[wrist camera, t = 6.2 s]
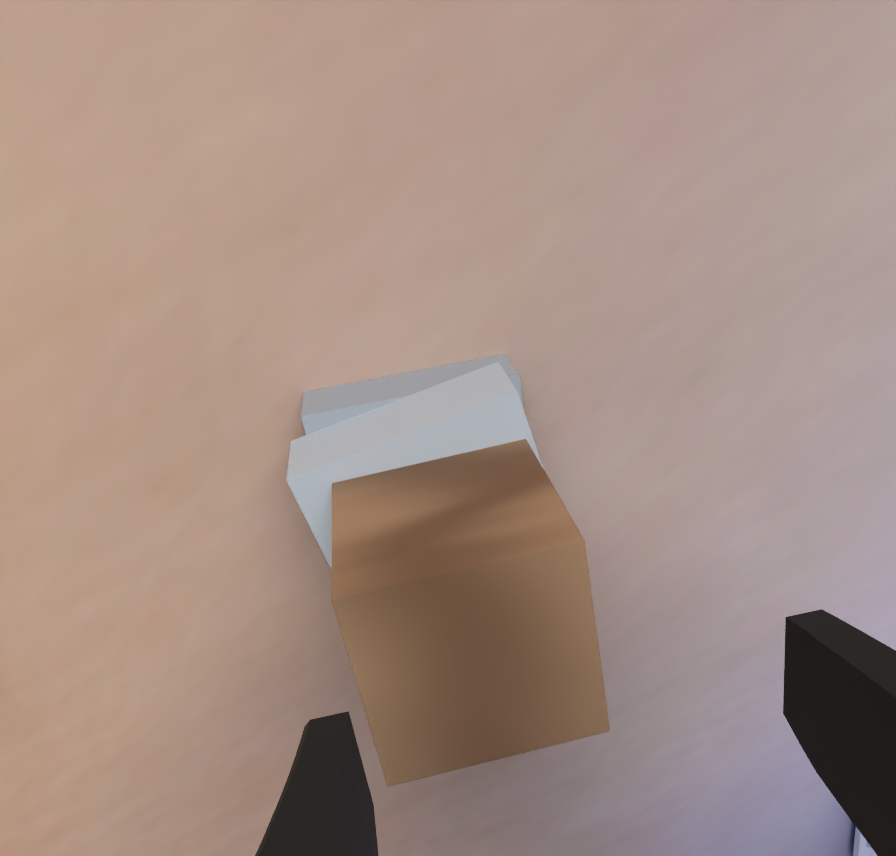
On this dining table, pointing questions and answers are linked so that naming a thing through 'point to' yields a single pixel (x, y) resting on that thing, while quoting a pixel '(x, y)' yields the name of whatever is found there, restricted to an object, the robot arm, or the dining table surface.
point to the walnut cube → (465, 611)
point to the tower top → (404, 439)
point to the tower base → (386, 391)
